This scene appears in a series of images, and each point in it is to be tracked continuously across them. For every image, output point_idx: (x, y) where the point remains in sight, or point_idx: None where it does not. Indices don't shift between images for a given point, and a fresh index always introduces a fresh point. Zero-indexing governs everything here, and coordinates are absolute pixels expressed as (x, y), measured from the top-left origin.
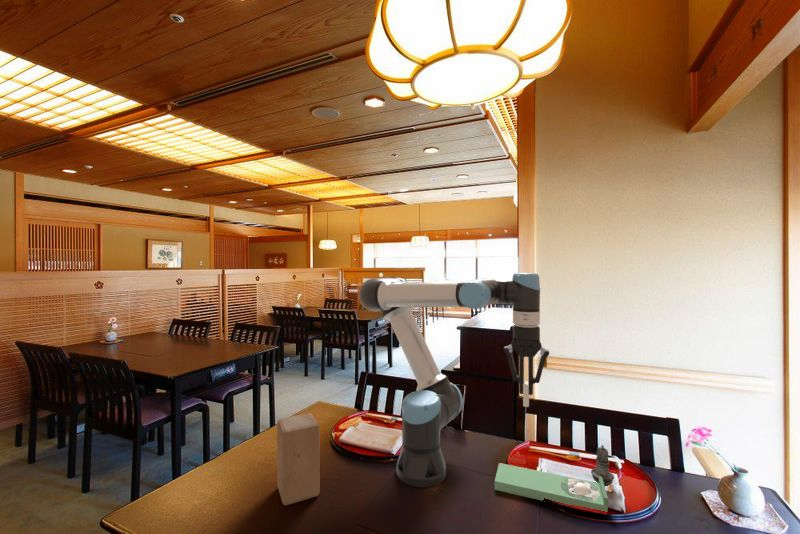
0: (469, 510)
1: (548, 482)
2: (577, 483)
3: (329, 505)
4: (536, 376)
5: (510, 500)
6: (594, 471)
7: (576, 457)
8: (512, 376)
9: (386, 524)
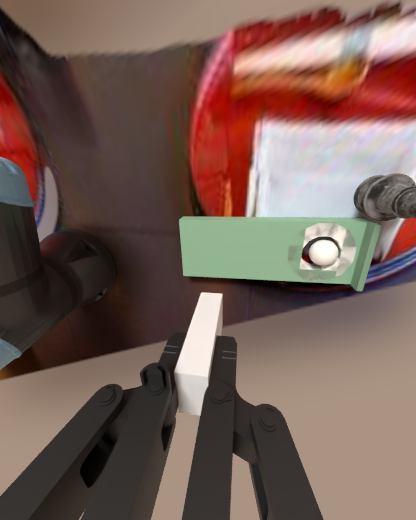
0: (167, 316)
1: (267, 251)
2: (320, 253)
3: (43, 343)
4: (259, 504)
5: (211, 285)
6: (373, 200)
7: (355, 71)
8: (97, 445)
9: (103, 352)
